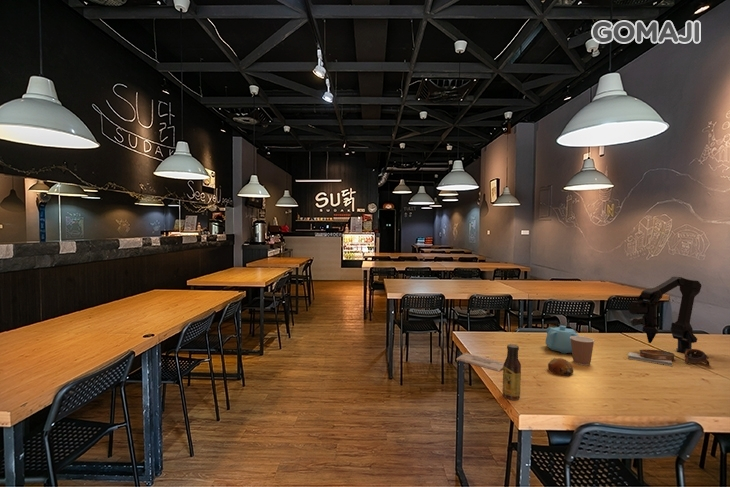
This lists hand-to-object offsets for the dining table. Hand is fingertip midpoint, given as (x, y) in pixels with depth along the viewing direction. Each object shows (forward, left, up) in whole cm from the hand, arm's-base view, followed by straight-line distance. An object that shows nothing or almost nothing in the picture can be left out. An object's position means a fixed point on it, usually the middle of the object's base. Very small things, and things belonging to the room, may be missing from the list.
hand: (649, 342), depth 187 cm
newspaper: (+74, -64, -6) cm, 98 cm away
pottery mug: (+7, +17, -6) cm, 19 cm away
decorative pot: (+27, -37, -6) cm, 46 cm away
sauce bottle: (+105, -41, -6) cm, 113 cm away
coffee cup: (+43, -26, -6) cm, 50 cm away
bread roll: (+63, -32, -6) cm, 71 cm away
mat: (+13, 0, -5) cm, 14 cm away
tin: (+6, 0, -4) cm, 7 cm away
